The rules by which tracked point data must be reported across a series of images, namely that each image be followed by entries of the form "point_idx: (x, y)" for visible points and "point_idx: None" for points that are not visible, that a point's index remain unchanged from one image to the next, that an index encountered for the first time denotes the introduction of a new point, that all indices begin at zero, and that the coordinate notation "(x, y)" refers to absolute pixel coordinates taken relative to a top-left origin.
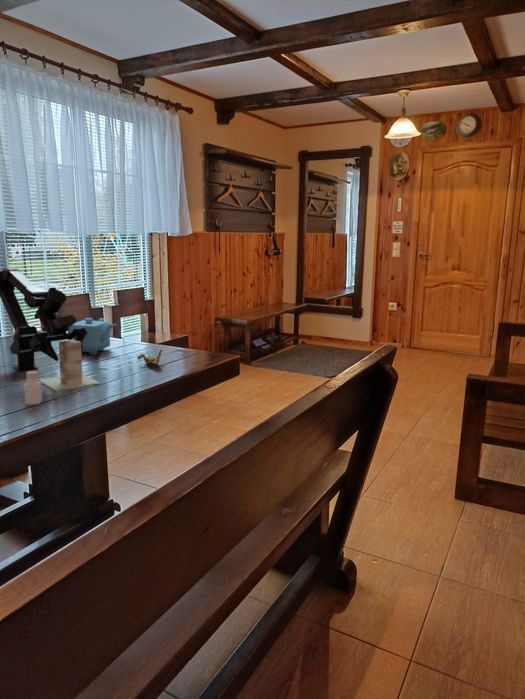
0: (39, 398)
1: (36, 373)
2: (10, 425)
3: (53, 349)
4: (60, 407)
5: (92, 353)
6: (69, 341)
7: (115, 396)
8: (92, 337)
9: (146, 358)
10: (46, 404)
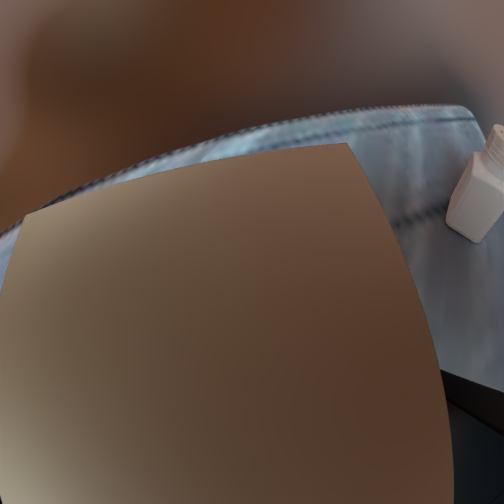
0: (455, 188)
1: (494, 125)
2: (479, 137)
3: (493, 420)
4: (397, 154)
5: None
6: (128, 433)
7: (219, 156)
8: None
9: None
10: (431, 191)
